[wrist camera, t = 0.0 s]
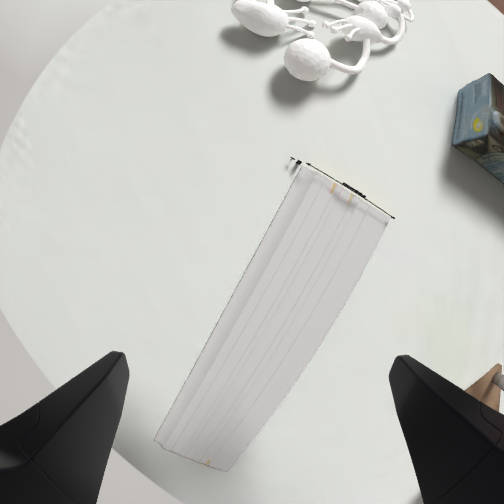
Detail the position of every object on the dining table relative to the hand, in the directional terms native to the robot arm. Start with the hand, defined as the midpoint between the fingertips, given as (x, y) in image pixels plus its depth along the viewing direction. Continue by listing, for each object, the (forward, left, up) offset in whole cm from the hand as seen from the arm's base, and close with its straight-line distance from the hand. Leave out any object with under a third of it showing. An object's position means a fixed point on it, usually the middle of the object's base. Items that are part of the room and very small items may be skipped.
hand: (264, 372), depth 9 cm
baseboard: (-4, -4, -16) cm, 17 cm away
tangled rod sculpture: (+24, +12, -16) cm, 31 cm away
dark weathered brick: (+30, -13, -16) cm, 36 cm away
